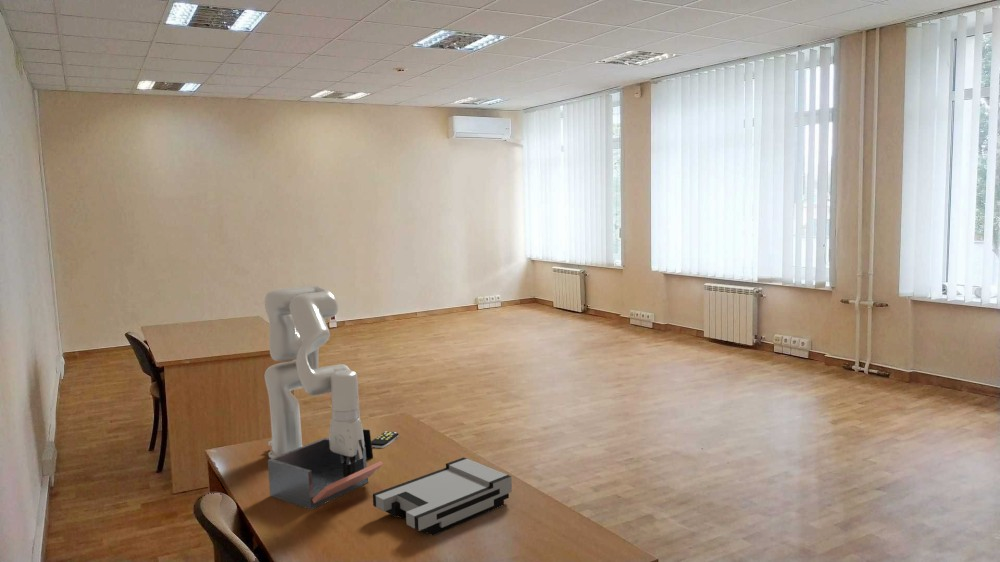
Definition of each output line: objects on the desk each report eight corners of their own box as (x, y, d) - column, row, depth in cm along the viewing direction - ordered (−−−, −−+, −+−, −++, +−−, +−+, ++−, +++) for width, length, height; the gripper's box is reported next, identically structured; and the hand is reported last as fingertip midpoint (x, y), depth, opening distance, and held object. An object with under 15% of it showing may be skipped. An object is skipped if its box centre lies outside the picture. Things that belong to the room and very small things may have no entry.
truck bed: (270, 496, 210) (267, 460, 209) (327, 470, 228) (325, 437, 227) (311, 510, 200) (309, 472, 199) (368, 482, 218) (366, 447, 217)
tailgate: (311, 499, 200) (325, 486, 196) (367, 473, 217) (381, 460, 213) (314, 503, 199) (327, 490, 195) (369, 476, 217) (383, 464, 213)
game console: (374, 518, 194) (372, 489, 193) (464, 483, 216) (463, 457, 215) (419, 544, 179) (417, 513, 178) (512, 504, 201) (511, 476, 199)
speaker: (360, 454, 241) (358, 425, 239) (373, 458, 238) (370, 429, 236) (344, 463, 235) (341, 434, 233) (357, 468, 232) (354, 438, 229)
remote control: (367, 448, 249) (367, 442, 248) (384, 435, 261) (384, 430, 260) (383, 449, 247) (383, 444, 246) (400, 437, 259) (399, 431, 258)
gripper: (317, 413, 205) (321, 474, 207) (354, 422, 196) (358, 486, 199) (337, 406, 211) (341, 466, 213) (374, 414, 202) (377, 476, 205)
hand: (349, 475), depth 206 cm, fingers closed
